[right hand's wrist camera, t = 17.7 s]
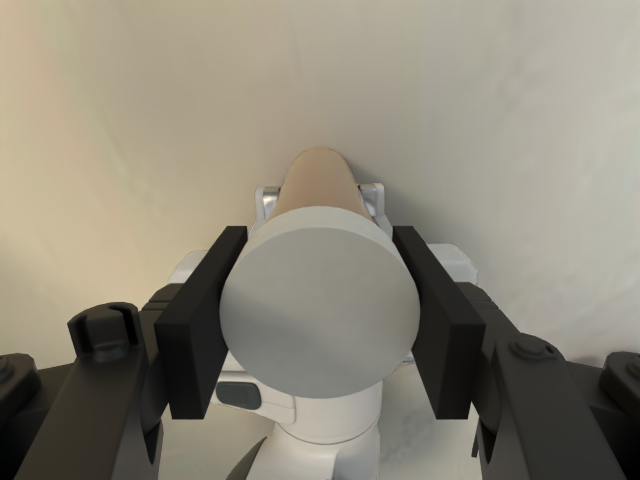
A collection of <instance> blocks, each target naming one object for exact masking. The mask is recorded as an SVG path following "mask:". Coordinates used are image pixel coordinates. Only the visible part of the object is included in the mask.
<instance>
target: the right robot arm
mask: <svg viewBox="0 0 640 480" xmlns="http://www.w3.org/2000/svg"><path fill="white" fill-rule="evenodd" d="M247 242H248V235H247V226H227V227H226V228H225V230H224V231H223V232H222V234H221V235H220V236H219V238H218V239H217V240H216V242H215V243H214V244H213V246H212V247H211V248H210V250H209V251H208V252H207V254H206V255H205V256H204V258H203V259H202V260H201V262H200V263H199V264H198V266H197V267H196V268H195V270H194V271H193V272H192V274H191V275H190V276H189V278H188V279H187V280H186V282H185V283H170V284H168V285H166V286H165V287H163V288H161V289H160V290H158V291H157V292H156V293H155V294H154V295H153V296H152V297H151V299H150V300H149V302H148V303H146V304H145V305H144V307H143V308H142V311H139V312H138V308H137V307H136V306H135V305H133V304H131V303H126V302H111V303H106V304H102V305H97V306H95V307H92V308H89V309H87V310H84V311H83V312H81V313H79V314H77V315H76V316H74V317H73V318H72V319H71V320H70V321H69V322H68V323H67V325H68V329H69V332H70V335H71V339H72V342H73V345H74V349H75V352H76V355H77V357H76V359H75V361H74V363H71V364H66V365H61V366H56V367H51V368H46V369H41V370H37V368H36V365H35V362H34V359H33V358H32V357H30V356H29V355H28V354H19V353H15V354H8V355H1V356H0V480H157V479H158V472H159V464H160V457H161V449H162V442H163V434H164V432H163V425H162V420H161V416H162V414H163V412H164V410H165V408H166V406H167V404H168V402H169V406H170V411H171V416H172V419H204V416H205V414H206V411H207V408H208V405H209V403H210V400H211V397H212V395H213V392H214V389H215V386H216V384H217V381H218V378H219V376H220V373H221V370H222V367H223V365H224V362H225V359H226V357H227V354H228V351H229V349H228V347H227V345H226V342H225V340H224V338H223V334H222V330H221V323H220V315H219V306H220V299H221V294H222V290H223V288H224V285H225V282H226V280H227V278H228V276H229V274H230V272H231V270H232V268H233V267H234V265H235V263H236V261H237V259H238V257H239V255H240V253H241V252H242V250H243V248H244V246H245V244H246V243H247ZM392 242H393V243H394V245H395V246H396V248H397V250H398V252H399V254H400V256H401V258H402V260H403V261H404V263H405V265H406V267H407V269H408V271H409V273H410V275H411V277H412V279H413V280H414V282H415V285H416V288H417V291H418V294H419V300H420V321H419V329H418V333H417V337H416V340H415V342H414V344H413V346H412V348H411V352H412V354H413V357H414V360H415V363H416V365H417V368H418V371H419V373H420V376H421V379H422V382H423V384H424V387H425V390H426V392H427V395H428V398H429V401H430V403H431V406H432V409H433V412H434V414H435V417H436V419H468V415H469V410H470V405H471V401H472V403H473V405H474V407H475V409H476V411H477V413H478V415H479V420H478V425H477V430H476V434H475V439H474V444H473V448H472V456H471V457H475V458H477V453H478V450H479V456H480V463H481V471H482V478H483V480H640V354H638V353H630V352H614V353H612V354H610V355H609V356H607V358H606V361H605V364H604V367H603V369H602V368H597V367H592V366H587V365H582V364H577V363H572V362H568V361H565V359H564V357H563V355H562V354H561V353H560V352H559V350H558V349H557V348H555V347H554V346H553V345H551V344H550V343H548V342H547V341H545V340H542V339H540V338H538V337H536V336H532V335H528V334H524V333H520V332H519V331H518V329H517V328H516V327H515V326H514V325H513V324H512V322H511V321H510V320H509V319H508V318H507V317H506V316H505V314H504V313H503V312H502V311H501V310H500V309H498V306H497V305H496V304H495V303H494V302H493V301H491V298H490V297H489V296H488V295H487V294H486V293H485V292H484V290H482V289H481V288H479V287H477V286H476V285H474V284H472V283H470V282H454V281H453V279H452V278H451V277H450V275H449V274H448V273H447V271H446V270H445V269H444V267H443V266H442V265H441V263H440V262H439V261H438V259H437V258H436V257H435V255H434V254H433V253H432V251H431V250H430V249H429V247H428V246H427V245H426V243H425V242H424V241H423V239H422V238H421V237H420V235H419V234H418V233H417V231H416V230H415V229H414V227H413V226H393V232H392Z"/></svg>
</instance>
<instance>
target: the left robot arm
mask: <svg viewBox="0 0 640 480" xmlns="http://www.w3.org/2000/svg"><path fill="white" fill-rule="evenodd" d="M358 188H359V190H360V192H361V194H362V196H363V199H364V201H365V203H366V205H367V207H368V210H369V212H370V214H371V216H372V217H374V219H375V221H376V222H377V224H378V226H379V227H380V228H381V229H382V230H383V231H384V232H385V233H386V234H387V235H388V236H389V238H390V239H391V241H392V232H393V228H392V226H391V224H390V223H389V221H388V219H387V217H386V216H385V214H384V199H385V192H384V186H383V185H382V184H381V183H369V184H358ZM280 189H281V187H258V188H257V189H256V191H255V205H256V215H257V218H256V220H255V222H254V224H253V226H252V228H251V230H250V232H249V234H248V240H249V239H250V238H251V236H252V235H253V234H254V233H255V232H256V231H257V230H258V229H259V228H260V227H261V226H263V225H264V224H265V222H266V220H267V218H268V216H269V213H270V211H271V209H272V207H273V205H274V203H275V200H276V198H277V196H278V194H279V192H280ZM426 245H427V246H428V247H429V249H430V250H431V251H432V253H433V254H434V255H435V257H436V258H437V259H438V261H439V262H440V263H441V265H442V266H443V267H444V269H445V270H446V271H447V273H448V274H449V275H450V277H451V278H452V279H453V281H454V282H470V283H472V284H474V285H476V284H477V271H476V268H475V266H474V265H473V264H472V262H471V261H470V260H469V258H468V257H467V256H466V255H465V254H464V253H463V252H462V251H461V250H460V249H458V248H457V247H456V246H455V245H453V244H450V243H437V244H426ZM208 251H209V250H207V251H192V252H190V253H188V254H187V255H186V256H185V257H184V258H183V259H182V260H181V261H180V262H179V263H178V265H177V266H176V267H175V268H174V270H173V271H172V273H171V275H170V276H169V279H168V282H167V285H168V284H170V283H185V282H186V280H187V279H188V278H189V276H190V275H191V274H192V272H193V271H194V270H195V268H196V267H197V266H198V264H199V263H200V262H201V260H202V259H203V258H204V256H205V255H206V254H207V252H208ZM412 363H413V364H414V363H415V360H414V357H413V354H412V352H411V350H410V352H409V353H408V355H407V357H406V358H405V359H404V361H403V362H402V363H401V364H400V365H407V364H412ZM382 389H383V380H382V381H381V382H379V383H377V384H375V385H374V386H372V387H370V388H368V389H365V390H363V391H361V392H358V393H355V394H352V395H348V396H343V397H338V398H329V399H310V398H301V397H296V396H292V395H288V394H285V393H282V392H279V391H276V390H274V389H272V388H270V387H268V386H266V385H264V384H263V383H261V382H259V381H258V380H256V379H255V378H254V377H252V376H251V375H250V374H248V373H247V372H246V371H245V370H244V369H243V368H242V367H241V366H240V365H239V363H238V362H237V361H236V360H235V358H234V357H233V355H232V354H231V352H230V350H229V351H228V354H227V357H226V359H225V362H224V365H223V367H222V370H221V373H220V376H219V378H218V381H217V384H216V386H215V389H214V392H213V395H212V397H211V400H210V402H211V403H215V404H219V405H224V406H229V407H233V408H237V409H241V410H245V411H248V412H252V413H255V414H258V415H261V416H264V417H267V418H269V419H271V420H274V421H275V427H274V430H273V433H272V435H271V437H269V438H268V437H265V438H263V439H262V440H261V441H259V442H258V443H257V444H256V445H255V446H254V447H253V448H252V449H251V450H250V451H249V452H248V453H247V454H246V455H245V456H244V458H243V459H242V460H241V461H240V462H239V463H238V464H237V465H236V466H235V468H234V469H233V470H232V471H231V473H230V474H229V476H228V477H227V479H226V480H377V477H378V469H379V460H380V433H379V429H378V425H377V422H378V419H379V417H380V413H381V408H382Z"/></svg>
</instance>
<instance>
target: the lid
mask: <svg viewBox="0 0 640 480" xmlns="http://www.w3.org/2000/svg"><path fill="white" fill-rule="evenodd" d="M219 315H220V323H221V330H222V334H223V338H224V340H225V342H226V345H227V347H228V349H229V350H230V352H231V354H232V355H233V357H234V358H235V360H236V361H237V362H238V363H239V365H240V366H241V367H242V368H243V369H244V370H245V371H246V372H247V373H248V374H250V375H251V376H252V377H254V378H255V379H256V380H258V381H259V382H261V383H263V384H264V385H266V386H268V387H270V388H272V389H274V390H276V391H279V392H282V393H285V394H288V395H292V396H296V397H301V398H310V399H329V398H338V397H343V396H348V395H352V394H355V393H358V392H361V391H363V390H365V389H368V388H370V387H372V386H374V385H375V384H377V383H379V382H381V381H382V380H383V379H385V378H386V377H388V376H389V375H390V374H391V373H392V372H393V371H394V370H396V369H397V368H398V367H399V365H400V364H401V363H402V362H403V361H404V359H405V358H406V357H407V355H408V353H409V352H410V350H411V348H412V346H413V344H414V342H415V340H416V337H417V333H418V329H419V321H420V300H419V294H418V291H417V288H416V285H415V282H414V280H413V279H412V277H411V275H410V273H409V271H408V269H407V267H406V265H405V263H404V261H403V260H402V258H401V256H400V254H399V252H398V250H397V248H396V246H395V245H394V243H393V242H392V241H391V239H390V238H389V236H388V235H387V234H386V233H385V232H384V231H383V230H382V229H381V228H379V227H378V226H377V225H376V224H374V223H373V222H372V221H370V220H368V219H367V218H365V217H363V216H361V215H359V214H357V213H354V212H352V211H349V210H345V209H341V208H336V207H329V206H312V207H303V208H299V209H295V210H291V211H288V212H286V213H283V214H281V215H279V216H277V217H275V218H273V219H271V220H270V221H268V222H267V223H266V224H264V225H263V226H261V227H260V228H259V229H258V230H257V231H256V232H255V233H254V234H253V235H252V236H251V238H250V239H249V240H248V242H247V243H246V244H245V246H244V248H243V250H242V252H241V253H240V255H239V257H238V259H237V261H236V263H235V265H234V267H233V268H232V270H231V272H230V274H229V276H228V278H227V280H226V282H225V285H224V288H223V290H222V294H221V299H220V306H219Z"/></svg>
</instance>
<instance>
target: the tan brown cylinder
mask: <svg viewBox="0 0 640 480" xmlns="http://www.w3.org/2000/svg"><path fill="white" fill-rule="evenodd" d="M312 206H329V207H336V208H341V209H345V210H349V211H352V212H354V213H357V214H359V215H361V216H363V217H365V218H367V219H368V220H370V221H372V222H373V223H374V220H373V218H372V216H371V214H370V212H369V210H368V207H367V205H366V203H365V201H364V199H363V196H362V194H361V192H360V190H359V188H358V186H357V183H356V181H355V179H354V177H353V175H352V172H351V170H350V168H349V166H348V164H347V162H346V161H345V159H344V158H343V157H342V156H341V155H340V154H339V153H337V152H335V151H333V150H331V149H328V148H323V147H318V148H312V149H309V150H306V151H304V152H303V153H301V154H300V155H299V156H298V157H297V158H296V159H295V160H294V162H293V163H292V165H291V168H290V170H289V172H288V174H287V176H286V179H285V181H284V183H283V185H282V187H281V189H280V192H279V194H278V196H277V198H276V200H275V203H274V205H273V207H272V209H271V211H270V213H269V216H268V218H267V220H266V222H265V224H266V223H267V222H268V221H270V220H271V219H273V218H275V217H277V216H279V215H281V214H283V213H286V212H288V211H291V210H295V209H299V208H303V207H312ZM374 224H375V223H374Z"/></svg>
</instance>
